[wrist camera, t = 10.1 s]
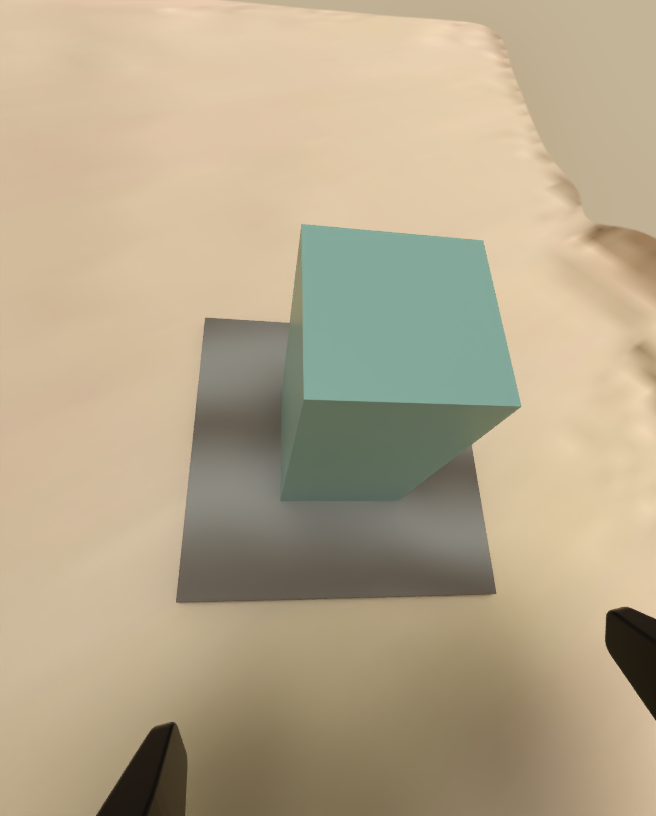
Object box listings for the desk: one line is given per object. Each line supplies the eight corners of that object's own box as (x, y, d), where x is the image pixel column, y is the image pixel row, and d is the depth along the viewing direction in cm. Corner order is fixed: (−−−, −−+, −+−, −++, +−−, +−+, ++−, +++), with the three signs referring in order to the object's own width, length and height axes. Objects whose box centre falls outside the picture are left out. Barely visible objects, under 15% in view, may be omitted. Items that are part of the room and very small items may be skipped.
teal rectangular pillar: (397, 500, 21) (521, 406, 11) (280, 501, 21) (303, 399, 11) (387, 395, 24) (483, 240, 14) (281, 391, 23) (301, 224, 13)
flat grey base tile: (490, 594, 21) (548, 589, 17) (178, 602, 19) (156, 600, 15) (448, 338, 27) (484, 288, 22) (206, 324, 24) (196, 265, 20)
